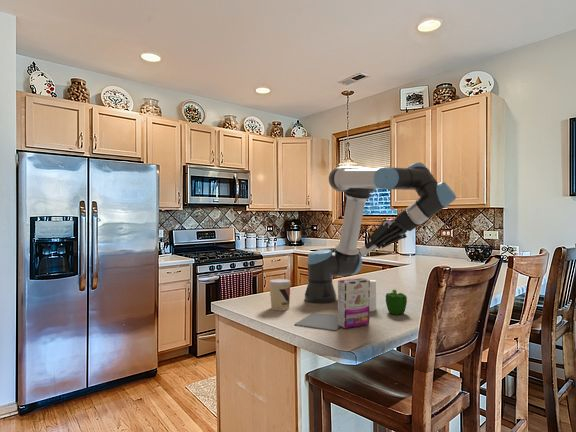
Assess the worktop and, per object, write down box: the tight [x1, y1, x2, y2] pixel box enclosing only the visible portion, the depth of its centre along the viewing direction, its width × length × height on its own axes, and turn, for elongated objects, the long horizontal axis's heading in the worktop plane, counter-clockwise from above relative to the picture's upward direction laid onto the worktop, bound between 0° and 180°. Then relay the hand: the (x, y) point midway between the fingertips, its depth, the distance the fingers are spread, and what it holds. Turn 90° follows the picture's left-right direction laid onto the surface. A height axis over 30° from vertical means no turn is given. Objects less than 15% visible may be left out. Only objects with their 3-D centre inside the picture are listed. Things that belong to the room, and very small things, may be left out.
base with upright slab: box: [369, 279, 377, 313], centre depth 151 cm, size 9×9×12 cm
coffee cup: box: [268, 278, 292, 311], centre depth 154 cm, size 9×9×12 cm
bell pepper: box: [385, 289, 408, 316], centre depth 144 cm, size 8×8×10 cm
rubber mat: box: [294, 312, 342, 332], centre depth 133 cm, size 16×17×1 cm
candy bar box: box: [337, 277, 371, 329], centre depth 128 cm, size 11×5×16 cm, turn 118°
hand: (361, 252), depth 135 cm, fingers closed
